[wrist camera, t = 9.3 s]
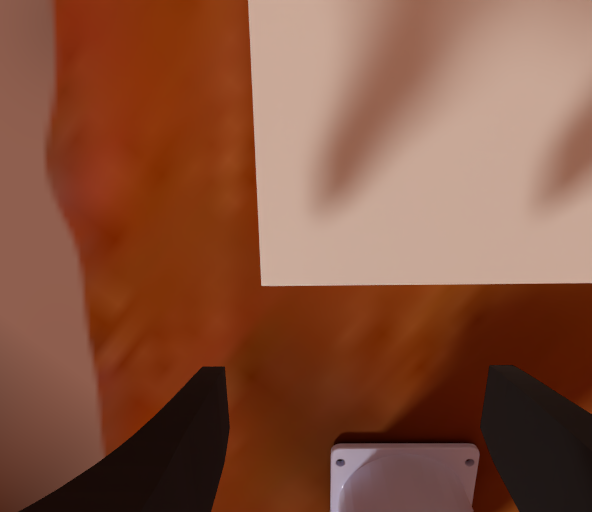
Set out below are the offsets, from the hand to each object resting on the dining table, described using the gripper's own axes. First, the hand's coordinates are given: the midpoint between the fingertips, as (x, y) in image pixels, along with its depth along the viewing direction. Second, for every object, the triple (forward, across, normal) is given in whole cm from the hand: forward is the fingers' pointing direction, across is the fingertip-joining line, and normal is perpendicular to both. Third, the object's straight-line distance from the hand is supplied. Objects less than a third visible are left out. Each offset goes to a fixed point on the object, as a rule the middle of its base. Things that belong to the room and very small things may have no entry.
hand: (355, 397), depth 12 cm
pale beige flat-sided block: (+9, -8, -6) cm, 14 cm away
